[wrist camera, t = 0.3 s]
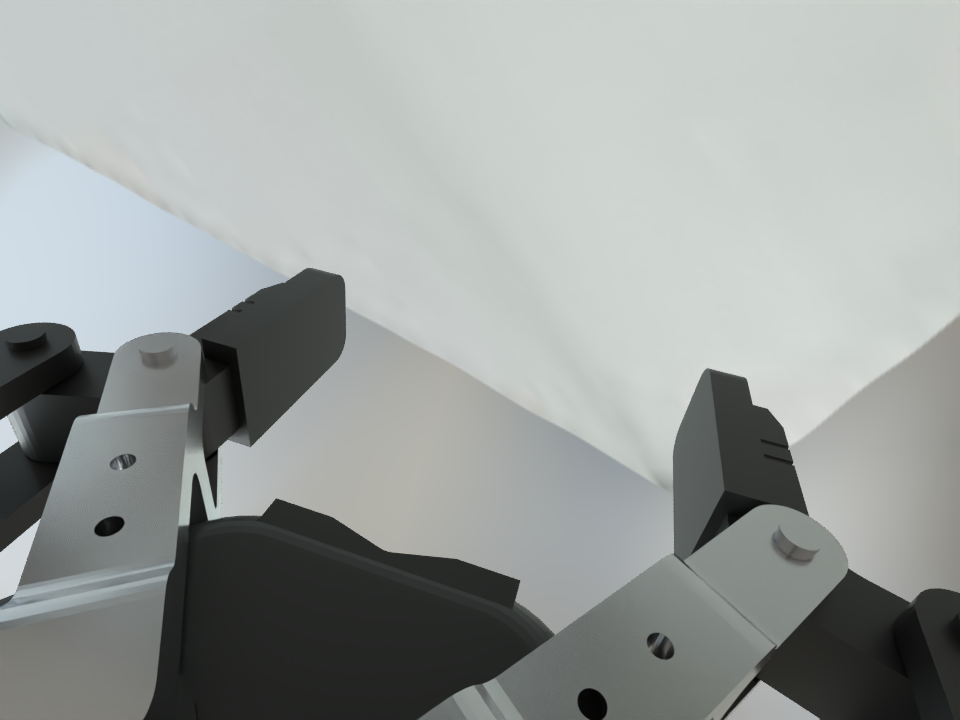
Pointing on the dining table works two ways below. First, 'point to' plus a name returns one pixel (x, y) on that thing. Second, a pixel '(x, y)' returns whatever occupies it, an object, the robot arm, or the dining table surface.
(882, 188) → the dining table surface
